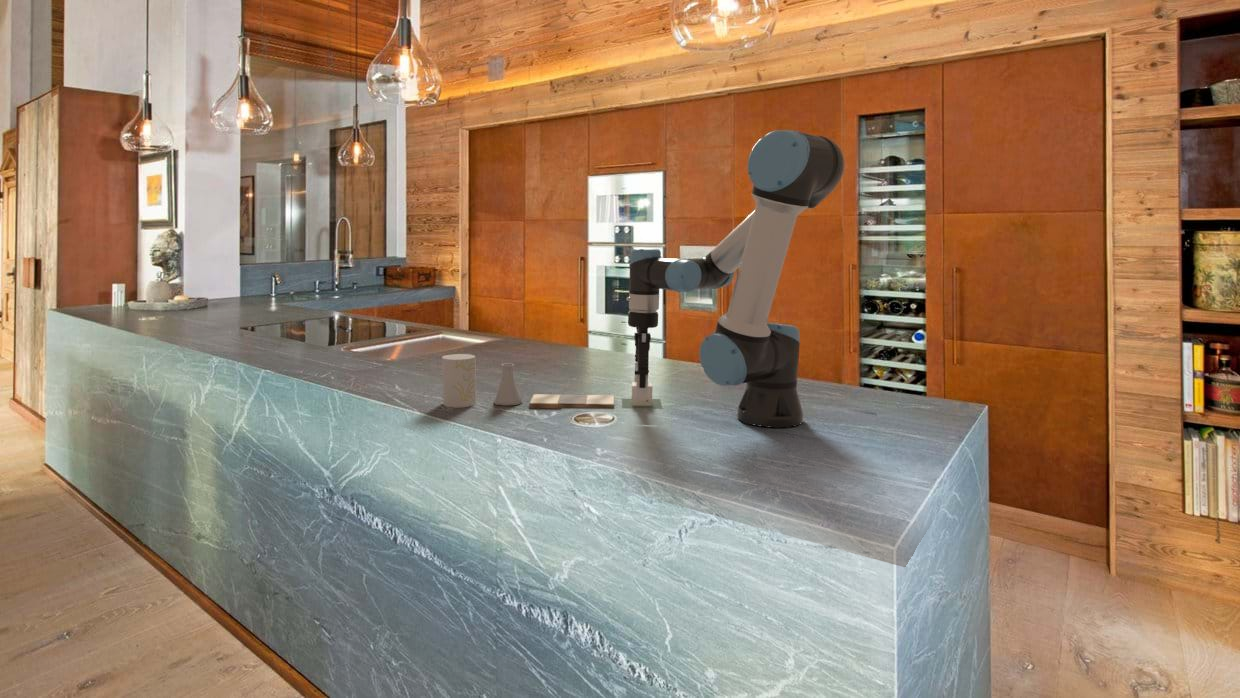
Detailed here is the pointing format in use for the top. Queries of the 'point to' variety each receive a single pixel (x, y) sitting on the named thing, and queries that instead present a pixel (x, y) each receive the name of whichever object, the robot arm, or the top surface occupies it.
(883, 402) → the top surface
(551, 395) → the board
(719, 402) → the top surface
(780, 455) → the top surface
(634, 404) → the die
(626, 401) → the mat
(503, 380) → the flask
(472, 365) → the white upright cylinder
